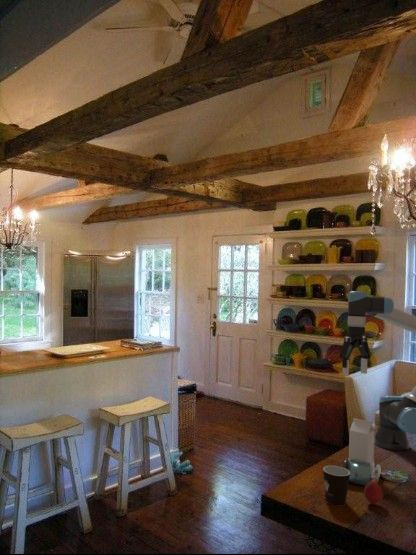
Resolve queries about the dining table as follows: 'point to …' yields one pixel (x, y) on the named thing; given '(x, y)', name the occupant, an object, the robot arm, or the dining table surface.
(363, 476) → the motor
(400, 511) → the dining table surface
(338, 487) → the coffee mug
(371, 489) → the onion
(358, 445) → the milk carton
